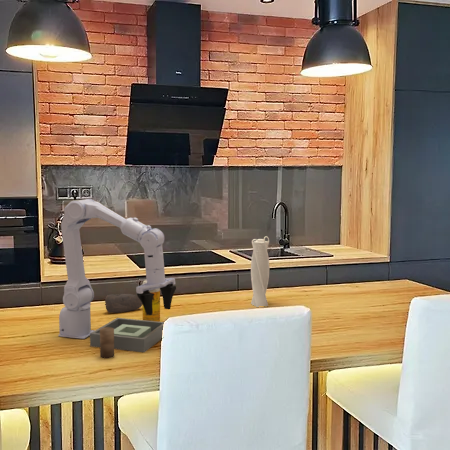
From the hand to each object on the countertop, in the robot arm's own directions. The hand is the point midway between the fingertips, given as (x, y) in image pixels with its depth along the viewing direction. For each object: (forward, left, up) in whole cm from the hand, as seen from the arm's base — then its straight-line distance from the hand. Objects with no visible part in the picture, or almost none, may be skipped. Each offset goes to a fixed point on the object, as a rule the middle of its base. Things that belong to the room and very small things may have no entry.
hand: (158, 311), depth 171 cm
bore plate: (-10, 0, -10) cm, 14 cm away
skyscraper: (+20, +54, -10) cm, 58 cm away
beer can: (-11, +19, -10) cm, 24 cm away
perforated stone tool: (-27, +30, -10) cm, 41 cm away
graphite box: (-10, 0, -10) cm, 14 cm away
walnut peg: (-10, -15, -10) cm, 21 cm away
